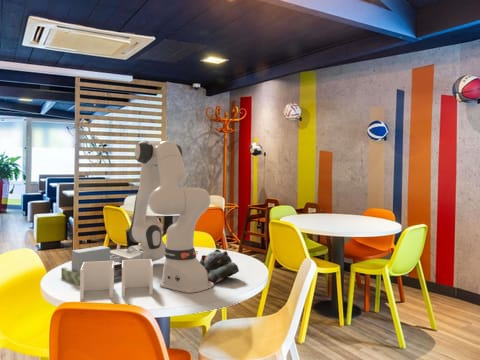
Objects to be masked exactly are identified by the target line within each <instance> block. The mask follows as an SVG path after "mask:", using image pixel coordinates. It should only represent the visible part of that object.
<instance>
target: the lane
mask: <svg viewBox="0 0 480 360" xmlns="http://www.w3.org/2000/svg"><path fill="white" fill-rule="evenodd" d="M120 268H121V269H122V263H118V264H114V270H117V269H120ZM119 272H122V270H119V271H118V273H119ZM61 278H62V279H64V280H66V281H69V282H70V283H73V284H75V285H77V286H80V273H77V272H75V271H73V270H72V269H70V268H67V267H66V266H65V267H61Z"/></svg>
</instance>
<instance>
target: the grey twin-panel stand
mask: <svg viewBox="0 0 480 360" xmlns="http://www.w3.org/2000/svg"><path fill="white" fill-rule="evenodd" d="M121 264H122V267H121V271H122V281H121V297H122V298H125V297H126V288H127V289H128V288H129V289H130V288H141V287H142V288H143V287H144V288H145V287H149V296H152V295H153V293H154V287H153V286H154V264H153V261H152V260H151V259H139V260H122V263H121ZM114 265H115V262H114V261H98V262H83V265H82V267H81V269H80V285H79V300H80V301H84V299H85V297H84V294H85V293H84V292H85V291H97V290H98V291H99V290H109V298H111V299H113V298H114V291H115V282H114V276H115V269H114Z"/></svg>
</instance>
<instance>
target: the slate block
mask: <svg viewBox="0 0 480 360" xmlns="http://www.w3.org/2000/svg"><path fill="white" fill-rule="evenodd" d="M110 250H111V248H110V247H109V246H105V245H99V246H93V247H87V248H80V249H79V248H78V249H73V250H72V249H71V270H73V271H75V272H77V273H80V269H81V267H82V265H83V262H98V261H110Z"/></svg>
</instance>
